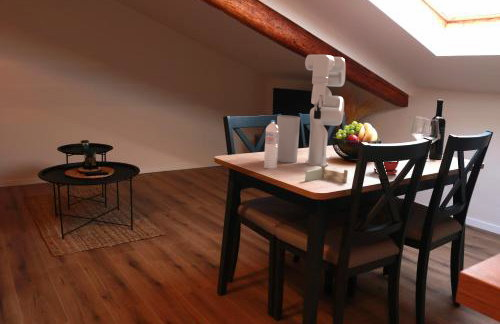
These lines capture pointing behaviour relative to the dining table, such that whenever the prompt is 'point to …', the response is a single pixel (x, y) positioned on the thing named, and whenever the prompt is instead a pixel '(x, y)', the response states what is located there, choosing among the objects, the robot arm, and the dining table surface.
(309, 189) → the dining table surface
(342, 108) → the robot arm
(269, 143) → the water bottle
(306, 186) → the dining table surface
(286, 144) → the cylinder vase
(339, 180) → the fence fixed
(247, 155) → the dining table surface
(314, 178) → the bar
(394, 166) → the plant pot
